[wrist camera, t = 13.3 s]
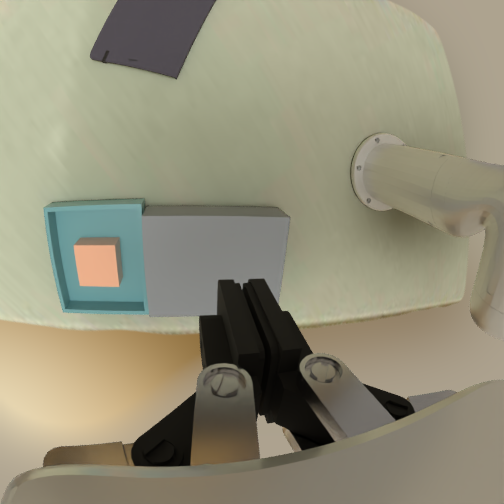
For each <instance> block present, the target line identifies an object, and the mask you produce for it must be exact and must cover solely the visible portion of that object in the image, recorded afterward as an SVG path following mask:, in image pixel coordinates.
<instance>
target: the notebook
mask: <svg viewBox="0 0 504 504" xmlns="http://www.w3.org/2000/svg"><path fill="white" fill-rule="evenodd" d="M215 1H216V0H118V1H117V2H116V4H115V6H114V8H113V9H112V11H111V13H110V15H109V16H108V18H107V20H106V22H105V24H104V26H103V28H102V30H101V32H100V34H99V36H98V38H97V40H96V42H95V44H94V46H93V48H92V51H91V53H90V58H91V59H93V60H98V61H102V62H103V63H106V62H110V63H115V64H120V65H125V66H130V67H135V68H139V69H144V70H148V71H152V72H156V73H160V74H164V75H167V76H171V77H175V78H176V79H177V77H178V75H179V73H180V70H181V68H182V66H183V64H184V62H185V59H186V57H187V55H188V53H189V51H190V49H191V47H192V45H193V42H194V40H195V38H196V36H197V34H198V32H199V30H200V29H201V27H202V25H203V23H204V21H205V19H206V17H207V15H208V13H209V12H210V10H211V8H212V6H213V4H214V3H215Z"/></svg>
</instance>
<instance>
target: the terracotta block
mask: <svg viewBox="0 0 504 504" xmlns="http://www.w3.org/2000/svg"><path fill="white" fill-rule="evenodd" d="M74 253H75V260H76V266H77V272H78V278H79V283H80V286H98V287H120V284H121V281H122V278H123V271H122V261H121V249H120V237H83V238H80V239H79V240H78V241H77V242H76V243H75V244H74Z"/></svg>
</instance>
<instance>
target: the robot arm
mask: <svg viewBox="0 0 504 504" xmlns="http://www.w3.org/2000/svg"><path fill="white" fill-rule="evenodd" d="M351 179H352V185H353V188H354V191H355V193H356V195H357V197H358V198H359V199H360V201H361V202H362V203H363V204H365V205H366V206H368V207H370V208H371V209H374V210H377V211H387V210H390V209H393V208H395V209H397V210H399V211H402V212H404V213H406V214H408V215H410V216H412V217H414V218H417V219H419V220H421V221H423V222H425V223H427V224H429V225H431V226H433V227H435V228H437V229H439V230H441V231H443V232H445V233H447V234H449V235H452V236H455V237H469V236H472V235H475V234H477V233H479V232H481V231H483V230H485V241H484V246H483V247H484V248H483V252H482V256H481V261H480V264H479V269H478V272H477V275H476V279H475V283H474V287H473V290H472V294H471V299H470V313H471V317H472V319H473V321H474V322H475V323H476V325H477V326H478V327H479V328H480V329H481V330H482V331H484V332H485V333H487V334H488V335H490V336H492V337H494V338H497V339H499V340H502V341H504V165H497V164H491V163H486V162H482V161H477V160H472V159H468V158H464V157H460V156H455V155H450V154H446V153H441V152H436V151H431V150H426V149H420V148H414V147H408V146H407V145H406V144H405V143H404V142H403V141H402V140H401V139H400V138H398V137H397V136H394V135H392V134H386V133H379V134H374V135H372V136H370V137H368V138H367V139H366V140H364V141H363V142H362V144H361V145H360V146H359V147H358V149H357V151H356V153H355V155H354V158H353V161H352V167H351ZM199 331H200V348H201V358H202V366H203V371H202V372H201V373H200V374H199V376H198V380H197V388H196V392H195V393H194V394H193V395H192V396H190V397H189V398H188V399H187V400H186V401H184V402H183V403H182V404H181V405H180V406H178V407H177V408H176V409H175V410H173V411H172V412H171V413H170V414H169V415H167V416H166V417H165V418H163V419H162V420H161V421H160V422H159V423H157V424H156V425H155V426H153V427H152V428H151V429H150V430H148V431H147V432H146V433H144V434H143V435H142V436H140V437H139V438H138V439H137V440H136V441H135V442H134V443H130V444H122V442H113V443H105V444H94V445H80V446H61V447H57V448H53V449H52V450H50V451H48V452H47V454H46V456H45V457H44V461H43V467H41V468H37V469H32V470H30V471H27V472H23V473H21V474H19V475H17V476H16V477H15V478H13V480H12V481H11V482H10V483H9V485H8V486H7V488H6V490H5V493H4V495H3V497H2V501H1V504H504V380H492V381H487V382H483V383H479V384H476V385H473V386H471V387H468V388H466V389H464V390H462V391H460V392H455V391H452V390H445V391H440V392H435V393H429V394H423V395H417V396H410V397H408V398H407V399H405V398H403V397H400V396H398V395H395V394H392V393H388V392H386V391H383V390H380V389H377V388H374V387H371V386H368V385H366V384H363V383H361V382H360V381H359V379H358V378H357V377H356V376H355V375H354V374H353V373H352V372H351V370H349V368H348V367H347V366H346V365H345V364H344V363H343V362H342V361H341V360H340V359H338V358H336V357H335V356H333V355H329V354H325V353H316V354H313V353H312V351H311V350H310V347H309V346H308V344H307V342H306V340H305V339H304V337H303V335H302V334H301V332H300V330H299V328H298V327H297V325H296V323H295V321H294V320H293V318H292V316H291V314H290V313H289V312H288V311H282V310H281V308H280V306H279V305H278V303H277V301H276V299H275V297H274V295H273V294H272V292H271V290H270V288H269V286H268V284H267V283H266V281H265V279H264V278H262V279H249V280H248V283H243V287H242V288H241V285H240V283H235V282H234V279H225V280H218V289H217V315H200V316H199ZM258 413H259V415H260V416H261V415H265V418H266V421H267V423H273V422H275V423H276V424H278V425H280V426H282V427H283V433H284V435H285V437H286V439H287V441H288V442H289V444H290V446H291V447H292V449H293V451H294V453H289V454H284V455H279V456H275V457H269V458H262V459H260V452H259V443H258V433H257V423H256V422H257V417H258Z"/></svg>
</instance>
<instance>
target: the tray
mask: <svg viewBox="0 0 504 504" xmlns="http://www.w3.org/2000/svg"><path fill="white" fill-rule="evenodd" d="M144 211H145V199H110V200H85V201H66V202H52V203H51V204H49V205H47V206H46V207H44V217H45V225H46V233H47V239H48V246H49V252H50V257H51V263H52V268H53V273H54V277H55V282H56V286H57V291H58V295H59V299H60V303H61V306H62V310H63V312H67V313H91V314H149V309H148V300H147V291H146V280H145V268H144V254H143V237H142V214H143V213H144ZM83 237H120V249H121V261H122V271H123V278H122V281H121V284H120V287H98V286H80V283H79V278H78V272H77V266H76V260H75V253H74V244H75V243H76V242H77V241H78V240H79V239H80V238H83Z"/></svg>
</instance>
